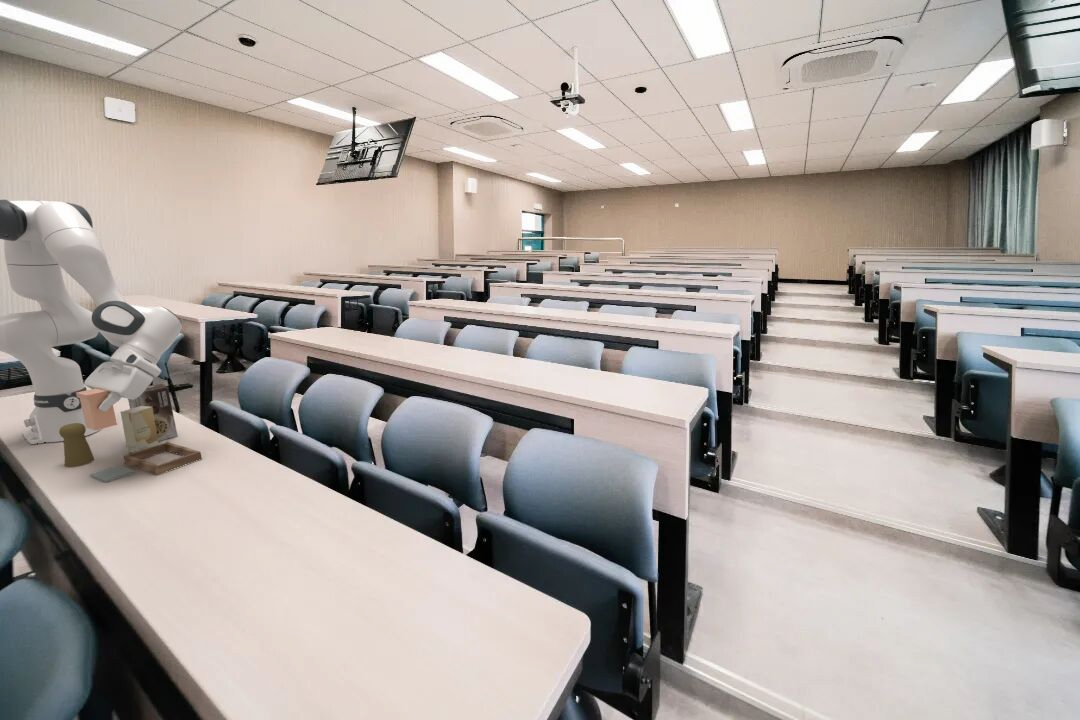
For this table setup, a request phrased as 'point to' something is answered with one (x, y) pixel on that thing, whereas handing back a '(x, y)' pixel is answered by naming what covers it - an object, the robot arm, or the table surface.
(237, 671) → the table surface
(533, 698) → the table surface
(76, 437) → the cork
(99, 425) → the peach upright block
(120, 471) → the slate mat
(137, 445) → the skincare box
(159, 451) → the walnut frame
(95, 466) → the table surface
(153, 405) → the coffee box
